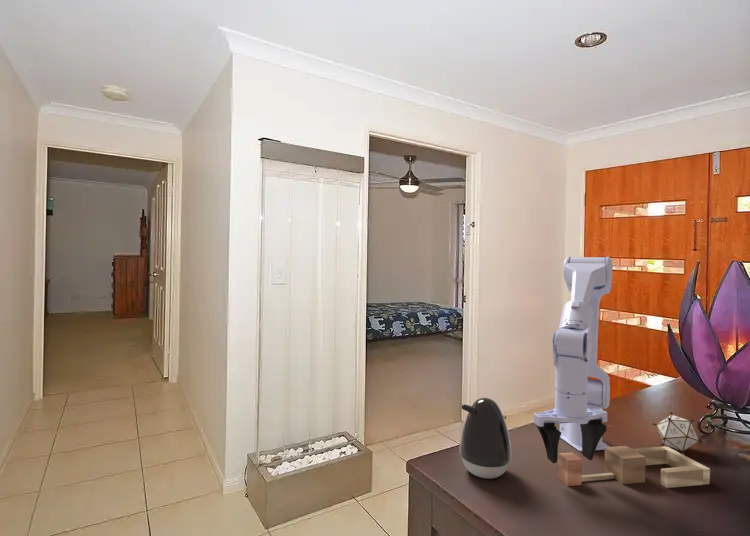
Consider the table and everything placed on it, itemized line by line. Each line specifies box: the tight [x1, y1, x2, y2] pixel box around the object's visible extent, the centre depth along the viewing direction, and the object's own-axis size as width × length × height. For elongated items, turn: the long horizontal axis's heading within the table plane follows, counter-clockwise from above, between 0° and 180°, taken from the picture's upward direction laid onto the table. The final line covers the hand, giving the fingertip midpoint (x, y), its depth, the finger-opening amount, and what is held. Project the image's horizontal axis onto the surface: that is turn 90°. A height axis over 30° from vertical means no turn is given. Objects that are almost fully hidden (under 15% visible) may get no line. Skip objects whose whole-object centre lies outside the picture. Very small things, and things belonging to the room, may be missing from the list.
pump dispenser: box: [459, 397, 512, 480], centre depth 87 cm, size 10×10×15 cm
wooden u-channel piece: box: [632, 445, 711, 489], centre depth 87 cm, size 10×10×3 cm
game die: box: [651, 410, 705, 455], centre depth 98 cm, size 9×8×10 cm
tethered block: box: [557, 445, 646, 487], centre depth 84 cm, size 5×16×5 cm, turn 99°
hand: (569, 459), depth 83 cm, fingers open, 7 cm apart
